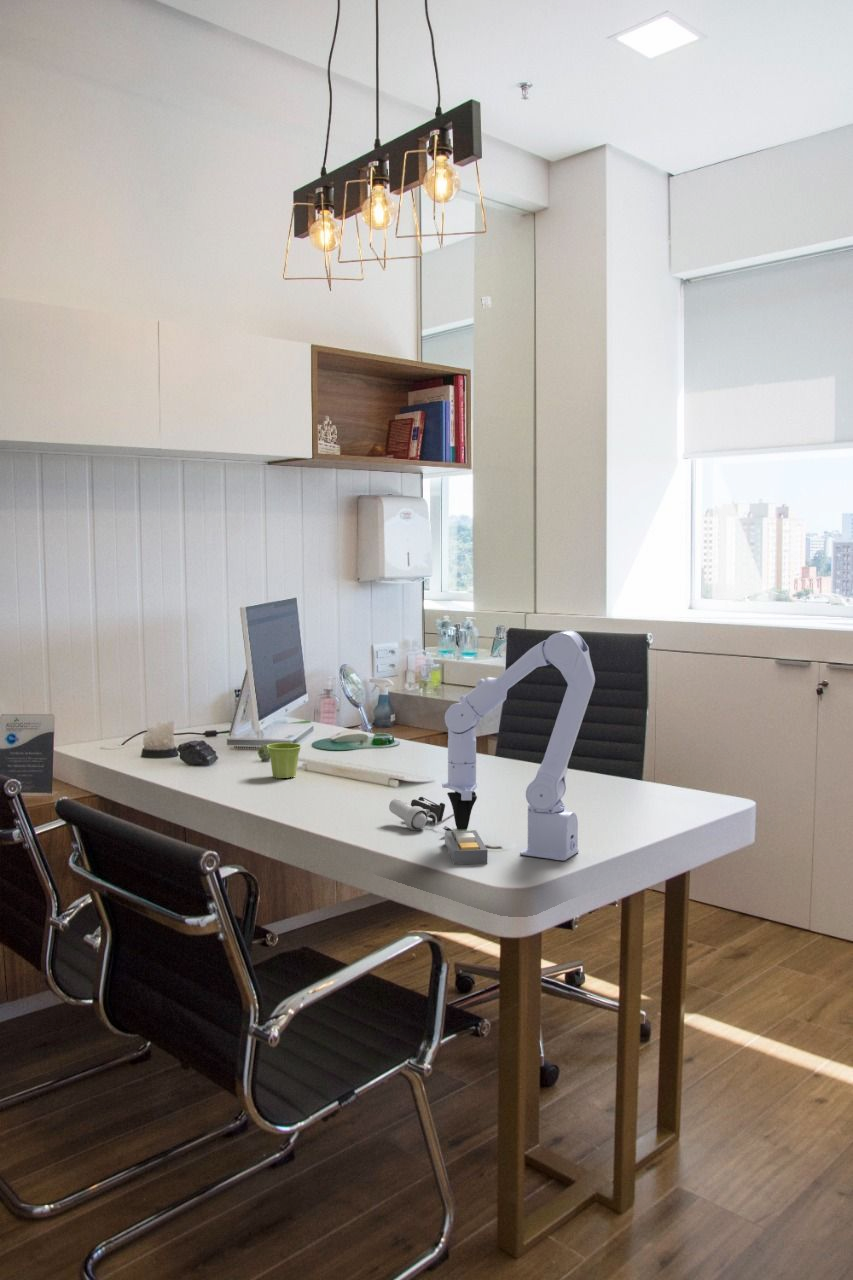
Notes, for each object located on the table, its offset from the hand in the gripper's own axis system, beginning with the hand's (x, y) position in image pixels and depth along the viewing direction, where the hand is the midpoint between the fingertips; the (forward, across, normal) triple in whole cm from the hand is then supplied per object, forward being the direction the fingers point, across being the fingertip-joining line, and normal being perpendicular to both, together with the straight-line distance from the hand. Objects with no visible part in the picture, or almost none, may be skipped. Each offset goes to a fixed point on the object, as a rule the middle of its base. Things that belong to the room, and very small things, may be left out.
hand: (461, 828), depth 213 cm
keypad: (+4, +5, 0) cm, 6 cm away
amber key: (+3, +10, 0) cm, 10 cm away
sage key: (+2, 0, 0) cm, 2 cm away
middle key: (+2, +5, 0) cm, 5 cm away
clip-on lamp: (+4, -17, -5) cm, 18 cm away
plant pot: (+4, -76, -38) cm, 85 cm away
